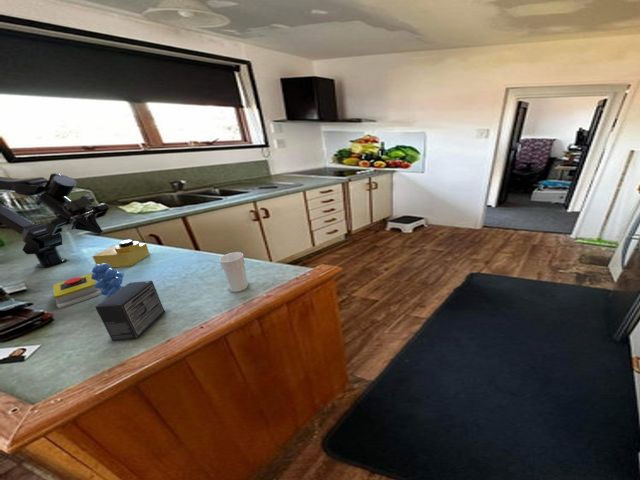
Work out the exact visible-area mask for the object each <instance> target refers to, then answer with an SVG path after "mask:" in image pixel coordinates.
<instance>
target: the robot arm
mask: <svg viewBox="0 0 640 480" xmlns="http://www.w3.org/2000/svg"><path fill="white" fill-rule="evenodd" d="M77 185H78V182H77V180H76V179H75V178H74V177H71V176H68V175H65V174H60V173H59V172H54V173H50V176H49V178H48V179H47V178H45V177H41V176H40V177H39V176H38V177H28V178H16V177H15V178H14V177H6V176H0V190H2V191H12V192H15V193H16V194H18V195H21V196H24V197H25V196H26V197H32V196H33V197H34V196H38V195H39V197H36V198H35V200H36V201H35V204H36V206H43V205H44V206H45V207H48V208H49V209H50V210H52V211H53V212H54V215H55V216H56V217H57V216H58V217H57V218H54V219H50V220H49V221H48V223H43V224H40V225H39V224H36V223H34V222H32V221H30V220H28V219H27V218H25V217H24V216H22V215H20V214H19V213H17V212H15V211H14V210H12V209H10V208H8V207H6V206H5V205H3V204H1V203H0V224H2V225H4V226H6V227H8V228H9V229H11V230H12V231H15V232H16V233H18V234H19V235H21V239H22V242H23V243H24V245H23V248H22V252H23V253H24V254H25V255H35V257H36V259H37V260H38V263H37V264H36V267H40V268H43V269H46V268H49V267H52V266H56V265H58V264H61V263H65V262H67V261H68V259H67V258H63V257H62V256H61V254H60V252H59V249H58V248H57V247H60V246H62V245H63V244H64V243H63V235H62V232H63V227H66V226H71V230H72V231H74V230H78V231H83V232H84V231H85V232H90V233H94V234H99V235H101V234H103V233H104V231H103V230H102V228H101V226H100V225H99V223H98V221H97V219H100V218H103V217H105V216H106V215H107V213H108V212H109V210H110V208H111V207H110V205H108V204H106V203H104V202H103V203H102V202H101V203H99V204H95V205H93V203H94V202H95V198H94V197H93V196H91V195H90V194H83V195H82V196H80V198H77V199H72V200H71V199H69V198H68V197H69V196H70V195H71V194H72V193H73V191H74V190H75V188H76V186H77ZM92 205H93V206H92ZM89 206H92V208H91V209H90V210H89V211H88V209H89Z"/></svg>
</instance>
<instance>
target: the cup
mask: <svg viewBox="0 0 640 480" xmlns="http://www.w3.org/2000/svg"><path fill="white" fill-rule="evenodd" d="M244 256H245V255H244V254H243V252H240V251H234V252H229V253H226V254H223V255H221V256H220V257H219V258H218V259H219V264H220V266H221V270H222V271H223V273H224V276H225V280H226V281H227V285H228V288H229V291H231V292H232V293H237V292H241V291H244V290H246V289H247V288H248V287H249V283H248V278H247V277H248V276H247V270H246V266H245V265H246V262H245V257H244Z"/></svg>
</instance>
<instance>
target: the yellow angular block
mask: <svg viewBox="0 0 640 480" xmlns="http://www.w3.org/2000/svg"><path fill="white" fill-rule="evenodd" d="M132 241H133V243H134V244H133V245H130V246H127V247H120V245H119V244H115V245H112V246H110V247H108V248H106V249H104V250H102V251H101V252H100V251H99V252H98V253H96V254H94V255H92V259H93V260H94V263H95V265H100V264H108V265H111V268H123V267H133V266H134V265H135V264H137V263H139V262H140V261H142V260H143V259H145V258H146V257H148V256H151V253H150V250H149V248H148V245H147V243H144V242H143V243H140V242H139V241H137V240H132Z"/></svg>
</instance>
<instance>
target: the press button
mask: <svg viewBox="0 0 640 480" xmlns="http://www.w3.org/2000/svg"><path fill="white" fill-rule="evenodd" d="M133 241H134V240H133V239H125V240H122V241H120V242H118V245H120V247H127V246H130V245H133V244H134V243H133Z"/></svg>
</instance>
